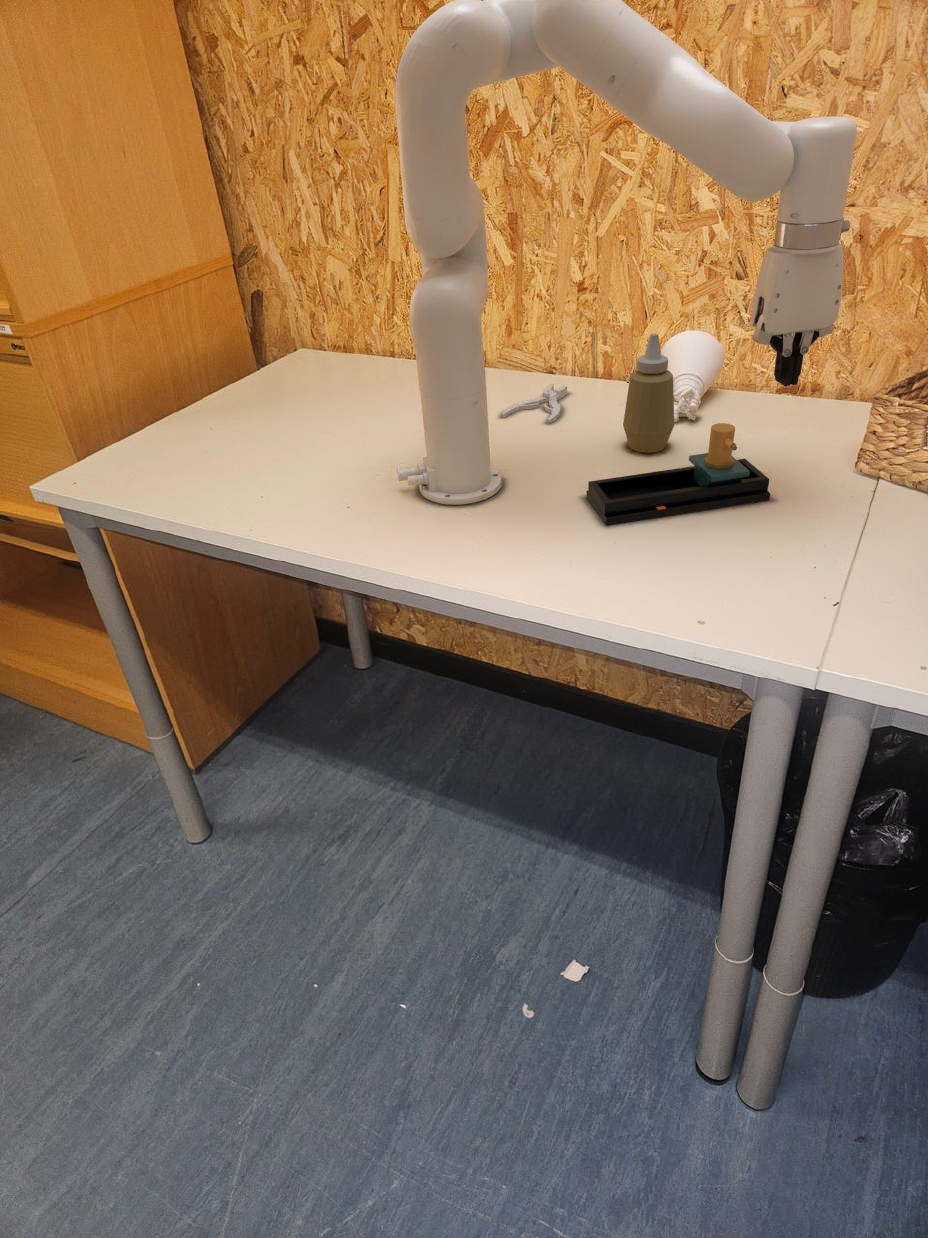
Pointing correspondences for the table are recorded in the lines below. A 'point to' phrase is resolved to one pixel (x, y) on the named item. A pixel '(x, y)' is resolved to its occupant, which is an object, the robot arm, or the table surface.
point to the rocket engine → (692, 368)
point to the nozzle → (718, 458)
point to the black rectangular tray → (671, 494)
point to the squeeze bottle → (650, 401)
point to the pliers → (548, 396)
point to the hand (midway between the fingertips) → (785, 382)
